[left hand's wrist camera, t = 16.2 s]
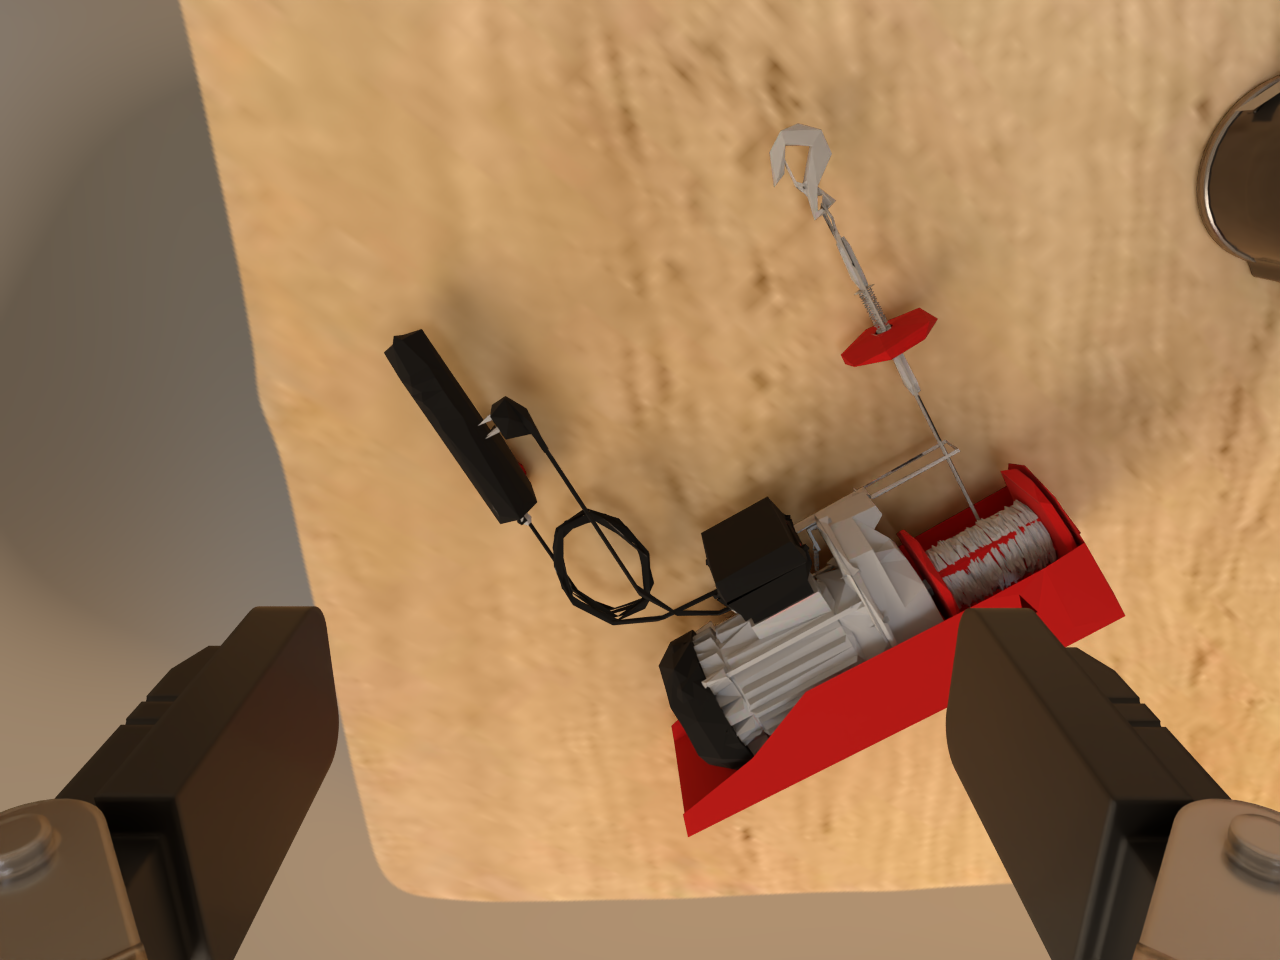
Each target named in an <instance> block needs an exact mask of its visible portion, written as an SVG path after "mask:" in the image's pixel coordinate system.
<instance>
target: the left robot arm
mask: <svg viewBox="0 0 1280 960" xmlns="http://www.w3.org/2000/svg"><path fill="white" fill-rule="evenodd" d="M1197 201H1198V208H1199V212H1200V215H1201V218H1202V221H1203V223H1204V225H1205V227H1206V229H1207V231H1208V232H1209V234H1210V235H1211V237H1212V238H1213V239H1214V240H1215V242H1216V243H1217V244H1218V245H1219V246H1221V247H1222V248H1223V249H1224V250H1226V251H1227V252H1228V253H1230V254H1232V255H1234V256H1236V257H1238V258H1241V259H1243V260H1247V262H1248V264H1249V266H1250V269H1251V273H1252V275H1253V276H1254V277H1258V278H1262V279H1267V280H1272V281H1277V282H1280V75H1279V76H1276V77H1274V78H1272V79H1270V80H1268V81H1266V82H1264V83H1262V84H1261V85H1259V86H1257V87H1256V88H1254V89H1253V90H1251V91H1250V92H1249V93H1247V94H1246V95H1245V96H1244V97H1242V98H1241V99H1240V100H1239V101H1238V102H1237V103H1236V104H1235V105H1234V106H1233V107H1232V108H1231V109H1230V110H1229V111H1228V112H1227V114H1226V115H1225V116H1224V117H1223V119H1222V120H1221V121H1220V123H1219V124H1218V126H1217V127H1216V129H1215V130H1214V132H1213V134H1212V136H1211V137H1210V139H1209V141H1208V144H1207V146H1206V148H1205V150H1204V153H1203V156H1202V159H1201V163H1200V167H1199V171H1198V178H1197ZM338 730H339V715H338V706H337V699H336V692H335V685H334V677H333V670H332V663H331V656H330V648H329V641H328V634H327V627H326V622H325V618H324V615H323V613H322V611H321V610H320V609H319V608H318V607H315V606H311V607H309V606H305V607H304V606H303V607H299V606H298V607H296V606H295V607H294V606H292V607H289V606H287V607H286V606H285V607H283V606H281V607H280V606H279V607H276V606H272V607H271V606H270V607H269V606H264V607H262V606H261V607H260V606H259V607H255V608H253V609H252V610H251V611H250V612H249V613H248V614H247V615H246V616H245V618H244V619H243V620H242V621H241V622H240V624H239V625H238V626H237V627H236V628H235V630H234V631H233V632H232V633H231V634H230V635H229V637H228V638H227V639H226V640H225V641H224V643H223V644H222V645H221V646H208V647H206V648H204V649H203V650H201V651H200V652H198V653H196V654H195V655H193V656H191V657H190V658H188V659H187V660H185V661H183V662H182V663H180V664H178V665H177V666H175V667H174V668H172V669H171V670H170V671H169V672H168V673H167V674H166V675H165V676H164V677H163V678H162V680H161V681H160V682H159V683H158V684H157V685H156V686H155V687H154V688H153V690H152V691H151V692H150V693H149V694H148V695H147V700H146V702H141V703H140V704H139V705H138V706H137V707H136V709H135V710H134V711H133V712H132V713H131V714H130V715H129V716H128V717H127V719H126V724H125V725H120V726H119V727H118V729H117V730H116V731H115V732H114V733H113V734H112V735H111V736H110V737H109V739H108V740H107V741H106V742H105V743H104V744H103V745H102V746H101V747H100V749H99V750H98V751H97V752H96V753H95V754H94V755H93V756H92V758H91V759H90V760H89V761H88V762H87V763H86V764H85V765H84V766H83V768H82V769H81V770H80V771H79V772H78V773H77V774H76V775H75V776H74V778H73V779H72V780H71V781H70V782H69V783H68V784H67V785H66V786H65V788H64V789H63V790H62V791H61V792H60V793H59V794H58V795H57V796H56V798H55V799H50V800H42V801H37V802H33V803H28V804H24V805H20V806H17V807H14V808H11V809H8V810H5V811H3V812H0V960H234V958H235V956H236V954H237V952H238V950H239V948H240V946H241V944H242V942H243V940H244V938H245V936H246V934H247V932H248V930H249V928H250V926H251V924H252V922H253V919H254V918H255V916H256V914H257V912H258V910H259V908H260V906H261V904H262V902H263V900H264V898H265V896H266V894H267V892H268V890H269V888H270V886H271V884H272V882H273V880H274V878H275V876H276V874H277V872H278V870H279V867H280V866H281V864H282V862H283V860H284V858H285V856H286V854H287V852H288V850H289V848H290V846H291V844H292V842H293V840H294V838H295V836H296V834H297V832H298V830H299V828H300V826H301V824H302V822H303V820H304V818H305V816H306V814H307V812H308V810H309V808H310V806H311V804H312V802H313V800H314V798H315V796H316V794H317V792H318V790H319V788H320V786H321V784H322V782H323V780H324V778H325V776H326V774H327V772H328V770H329V768H330V766H331V763H332V761H333V758H334V755H335V751H336V746H337V740H338ZM946 737H947V744H948V749H949V754H950V758H951V761H952V764H953V766H954V768H955V770H956V772H957V774H958V776H959V778H960V780H961V782H962V784H963V786H964V788H965V790H966V792H967V794H968V796H969V798H970V800H971V802H972V804H973V806H974V808H975V810H976V812H977V814H978V815H979V817H980V819H981V821H982V823H983V825H984V827H985V829H986V831H987V833H988V835H989V837H990V839H991V841H992V843H993V845H994V847H995V849H996V851H997V853H998V855H999V857H1000V859H1001V861H1002V863H1003V865H1004V867H1005V869H1006V871H1007V873H1008V875H1009V877H1010V879H1011V881H1012V883H1013V885H1014V887H1015V888H1016V890H1017V892H1018V894H1019V896H1020V898H1021V900H1022V902H1023V904H1024V906H1025V908H1026V910H1027V912H1028V914H1029V916H1030V918H1031V920H1032V922H1033V924H1034V926H1035V928H1036V930H1037V932H1038V934H1039V936H1040V938H1041V940H1042V942H1043V944H1044V946H1045V948H1046V950H1047V952H1048V954H1049V956H1050V958H1051V960H1280V812H1277V811H1275V810H1272V809H1269V808H1266V807H1263V806H1260V805H1256V804H1252V803H1248V802H1243V801H1238V800H1232V799H1231V798H1230V797H1229V796H1228V795H1227V794H1226V793H1225V792H1224V791H1223V790H1222V788H1221V787H1220V786H1219V785H1218V784H1217V783H1216V782H1215V781H1214V780H1213V778H1212V777H1211V776H1210V775H1209V774H1208V773H1207V772H1206V771H1205V770H1204V769H1203V767H1202V766H1201V765H1200V764H1199V763H1198V762H1197V761H1196V760H1195V759H1194V758H1193V756H1192V755H1191V754H1190V753H1189V752H1188V751H1187V750H1186V749H1185V748H1184V746H1183V745H1182V744H1181V743H1180V742H1179V741H1178V740H1177V739H1176V738H1175V737H1174V735H1173V734H1172V733H1171V732H1170V731H1169V730H1168V729H1167V728H1166V727H1161V725H1160V720H1159V719H1158V718H1157V717H1156V716H1155V715H1154V713H1153V712H1152V711H1151V710H1150V709H1149V708H1148V707H1147V706H1146V705H1145V704H1140V698H1139V697H1138V696H1137V695H1136V694H1135V692H1134V691H1133V690H1132V689H1131V688H1130V687H1129V686H1128V685H1127V684H1126V683H1125V681H1124V680H1123V679H1122V678H1121V677H1120V676H1119V675H1118V674H1117V673H1116V671H1114V670H1113V669H1111V668H1109V667H1108V666H1106V665H1105V664H1103V663H1101V662H1100V661H1098V660H1096V659H1095V658H1093V657H1091V656H1090V655H1088V654H1087V653H1085V652H1083V651H1082V650H1080V649H1078V648H1077V647H1064V646H1063V645H1062V643H1061V642H1060V641H1059V640H1058V639H1057V637H1056V636H1055V635H1054V634H1053V633H1052V632H1051V630H1050V629H1049V628H1048V627H1047V626H1046V625H1045V623H1044V622H1043V621H1042V620H1041V619H1040V617H1039V616H1038V615H1037V614H1036V613H1035V612H1034V611H1033V610H1032V609H1030V608H968V609H966V610H965V611H964V613H963V614H962V616H961V619H960V622H959V627H958V634H957V641H956V648H955V655H954V662H953V670H952V677H951V684H950V691H949V698H948V705H947V713H946Z"/></svg>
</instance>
